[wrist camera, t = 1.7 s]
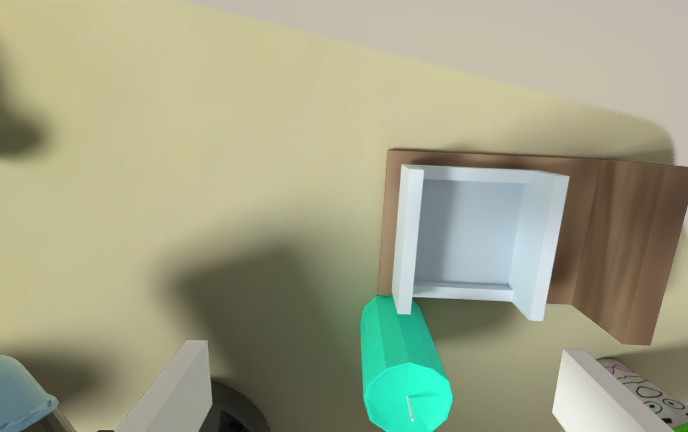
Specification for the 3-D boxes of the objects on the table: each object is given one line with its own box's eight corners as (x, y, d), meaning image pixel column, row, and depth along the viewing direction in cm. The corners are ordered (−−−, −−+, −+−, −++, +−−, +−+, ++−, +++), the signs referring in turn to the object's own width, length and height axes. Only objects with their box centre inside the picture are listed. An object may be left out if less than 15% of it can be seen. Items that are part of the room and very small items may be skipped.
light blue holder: (390, 286, 32) (397, 313, 27) (400, 163, 29) (409, 169, 24) (513, 292, 32) (542, 321, 27) (533, 169, 29) (569, 176, 24)
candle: (379, 281, 33) (395, 362, 21) (435, 309, 33) (480, 404, 22) (348, 332, 34) (347, 435, 22) (402, 358, 35) (428, 473, 23)
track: (377, 291, 33) (384, 332, 26) (387, 150, 30) (398, 154, 23) (588, 301, 33) (650, 345, 26) (618, 160, 30) (697, 167, 23)
